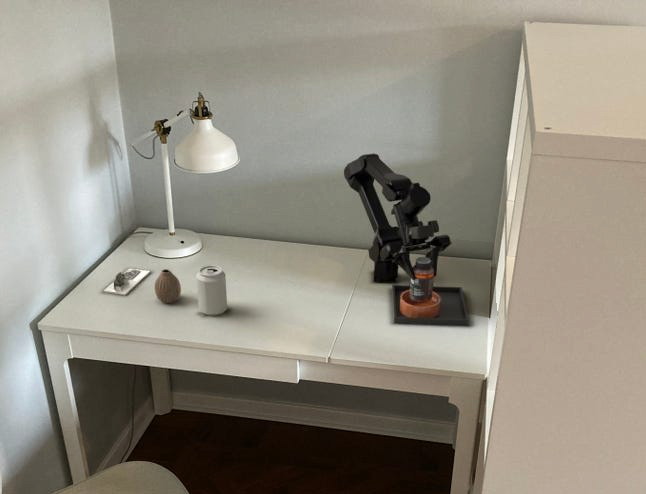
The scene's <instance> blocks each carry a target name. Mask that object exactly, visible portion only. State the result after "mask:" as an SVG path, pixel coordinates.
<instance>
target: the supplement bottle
mask: <svg viewBox="0 0 646 494" xmlns="http://www.w3.org/2000/svg"><path fill="white" fill-rule="evenodd" d="M412 267H413V270H414V273H415V278H416V279H415V280H412V279H411V278H410V299H411V300H412V301H414V302H418V303H425V302H428V301H430V300H431V298H432V290H433V286H434V278H435V277H434V269H433V267H432V266H431V260H430V259H429V258H426V256H420V257H417V258H415V263H414V265H412Z"/></svg>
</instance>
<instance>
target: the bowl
mask: <svg viewBox="0 0 646 494" xmlns="http://www.w3.org/2000/svg"><path fill="white" fill-rule="evenodd" d="M440 305H441V297H440V296H439V295H438V294H437V293H435V292H433V291H432V298H431V300H430V301H428V302H425V303H418V302H414V301H412V300H411V299H410V290H407V291H405V292H403V293H402V294H401V296H400V311H401V313H402V314H403V315H405V316H407V317H416V318H434V317H436V316H437V315H438V314H439V312H440Z"/></svg>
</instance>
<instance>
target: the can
mask: <svg viewBox="0 0 646 494" xmlns="http://www.w3.org/2000/svg"><path fill="white" fill-rule="evenodd" d="M226 278H227V277H226V273H225V272H224V270H223V267H221V266H219V265H216V264H215V265H214V264H209V265H203V266H202V267H199V269H198V273H197V274H196V289H197V297H198V298H197V300H198V309H199V312H201V313H203V315H206V316H211V317H212V316H213V317H214V316H219V315H222V314H223V313H224V312H226V311H227V309H228V297H227V295H228V293H227V279H226Z"/></svg>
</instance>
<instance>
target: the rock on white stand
mask: <svg viewBox="0 0 646 494" xmlns="http://www.w3.org/2000/svg"><path fill="white" fill-rule="evenodd" d="M150 273H151V271H150V270H144V269H136V268H131V267H130V268H128V269H126V270H125V271H124V272H123V273H122V272H120V271H119V272H118V273H117V274H116V275H115V279H114V281H112V283H110V284H109V285H108V286H107V287H106V288H105V289H104V290H103V293H107V294H113V295H114V294H115V295H121V296H127V295H128V294H129V293H131V291H132V290H133V289H134V288H136V287H137V286H138V285H139V284H140V283H141V282H142V281H143V280H144V279H145V278H146V277H147V276H148V275H149V274H150Z"/></svg>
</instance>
